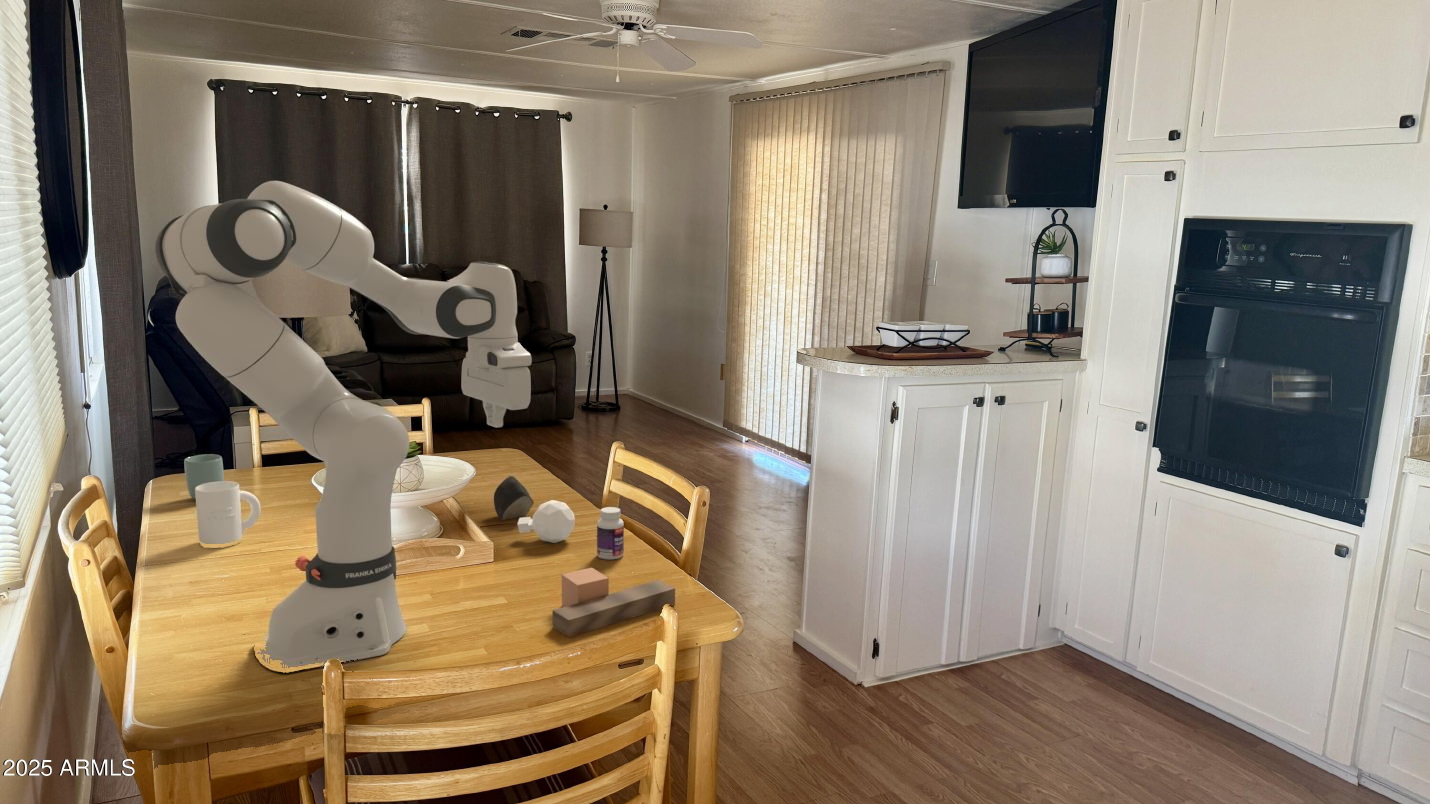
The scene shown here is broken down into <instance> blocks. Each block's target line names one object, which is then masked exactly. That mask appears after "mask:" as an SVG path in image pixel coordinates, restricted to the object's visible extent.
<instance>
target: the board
mask: <svg viewBox="0 0 1430 804" xmlns="http://www.w3.org/2000/svg"><path fill="white" fill-rule="evenodd" d="M665 604H670V605H671V606H673V605H672V604H674V605H676V588H675V587H673V586H672V585H669V584H667V583H666V582H664V581H662V580H659V579H657V580H653V581H649V582H646V583H643V584H638V585H637V586H633V587H629V588H625V589H621V590H619V591H615V592H612V593H609V594H608V595H604V596H601V597H597V598H594V599H590V600H587V601H583V602H580V603H576V604H573V605H569V606H566V607H563V606H562V607H560V608H559V607H558V608H555V609H552V628H553V629H555V630H556V631H558V632H560V633H561V634H563V635H565V636H566V638H567V637H568V638H572V637H574V636H578V635H580V634H581V635H582V634H585V633H588V632H591V631H594V630H597V629H601V628H604V627H606V626H610V625H614V624H616V623H619V622H623V621H626V620H629V619H632V618H635V617H639V616H642V615H646V614H649V613H651V612H655V611H658V610H661V609H663V608H662V607H663V606H664V605H665Z"/></svg>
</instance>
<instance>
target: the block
mask: <svg viewBox="0 0 1430 804" xmlns="http://www.w3.org/2000/svg"><path fill="white" fill-rule="evenodd" d="M609 585H610V582H609V576H608V577H607V576H606V575H605V574H604V573H601V572H600V571H598V570H596V569H595V568H593V567H589V568H584V569H579V570H575V571H574V570H573V571H570V572H566V573H562V574H561V606H562V607H566V606H569V605H573V604H576V603H580V602H583V601H587V600H590V599H594V598H597V597H601V596H604V595H608V594H610V593H609V591H610V590H609V589H610V588H609V587H610V586H609Z"/></svg>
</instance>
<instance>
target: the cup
mask: <svg viewBox="0 0 1430 804" xmlns="http://www.w3.org/2000/svg"><path fill="white" fill-rule="evenodd" d="M183 461H184V462H183V463H184V475H185V482H186V483H185V484H186V489H187V492H188V495H189V496H190V497H191V499H193V500H194V499H196V497H195V488H196V487H197V486H199V485H202V484H205V483H210V482H218V481H225V479H224V477H225V476H224V475H225V474H224V463H223V457H222V456H221V455H219V454H215V453H214V454H213V453H210V454H206V453H205V454H197V455H193V456H188V457H186V458H184V460H183Z"/></svg>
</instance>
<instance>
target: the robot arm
mask: <svg viewBox="0 0 1430 804" xmlns="http://www.w3.org/2000/svg"><path fill="white" fill-rule="evenodd" d="M154 247H155V248H154V249H155V251H154V252H155V256H156V259H157V263H158V265H159V267H160V269H161V270H162V272H163V273H164V275H165V276H166V278H167V279H168V281H169V283H170V286H171V288H172V290H173V291H174V293H175V294H177V295H178V296H179V297H182V298H181V300H180V302H179V304H178V306H177V309H176V311H175V322H176V325H177V328H178V329H179V331H180V332H181V333H182V334H183V335H182V336H184V337H185V339H186V340H187V342H188V343H189V344H190V345H192V347H193V348H194V349H195V350H196V352H198V354H199V355H200V356H201V357H202V358H203V359H204V360H205V361H206V362H207V363H208V364H209V365H210V366H211V367H212V368H214V369H215V371H217V372H218V373H219V374H220V375H221V376H223V377H224V378H226V380H227V381H229V382H230V383H231V384H232V385H233V386H235V387H236V388H237V389H238V390H239V391H241V392H242V393H243V394H244V395H246V396H247V397H248V398H249V399H250V400H251V401H252V402H254V404H256V405H257V406H258V407H259V408H261V409H262V410H263V411H264V412H265V413H266V414H267V415H268V416H269V417H270V418H271V419H272V420H273V421H274V422H275V423H276V424H277V425H278V426H279V427H280V429H283V431H284V432H286V434H288V435H289V437H290V438H292V439H293V440H294V441H295V442H296V443H297V444H298V445H299V446H300V447H301V448H303V449H304V450H305V451H306V452H307V453H308V454H309V455H310V456H313V457H314V458H316V459H318V460H321V461H322V462H323V463H324V466H325V478H324V483H323V489H322V494H321V498H320V500H319V501H318V502H317V503H316V505H315V511H314V512H315V513H314V514H315V527H316V528H315V529H316V544H317V553H316V554H315V555H314V557H313V558H312V559H311V560H310V559H309V558H308V557H307V556H304V555H300V556H298V557H297V558H296V559H295V562H294V565H295V567H296V568H297V569H298V570H299V571H301V572H305V579H306V580H304V581H303V582H302V583H301V584H300V585H299V586H297V588H295V589H294V590H293V591H292V592H291V593H290V594H289V595H288V596H286V597H285V598H284V599H283V600H282V601H281V602H280V603H278V604H277V605H276V606H275V607H274V608H273V609H272V612H271V614H270V617H269V618H270V619H269V625H268V633H267V634H268V635H267V634H266V635H267V638H265V637H266V636H264V635H263V636H264V638H265V639H264V641H265V640H266V639H268V640H266V642H267V643H266V645H265V646H267V647H265V649H266V651H265V650H264V649H263V650H261V649H260V651H261V653H260V652H258V653H257V654H261V655H262V654H263V657H262V659H263V660H264V661H265V662H266V659H265V655H264V654H268V655H270V657H269V664H270V659H272V660H273V661H274V660H281V661H283V662H282V663H280V664H281V665H282V668H285V665H287V666H288V668H290V667H298V666H305V665H308V664H315V663H322V662H324V664H325V663H326V662H327V660H330V659H339V660H340V661H342V660H343V661H344V663H347V662H346V661H349V662H351V661H350V660H354V661H359V660H363V659H368V658H373V657H378V656H383V655H385V654H387V653H388V652H389V651H390V649H391V647H392V645H393V644H395V643H396V642H397V641H399V640H400V639H401V638H402V637H403V636H404V635H405V633H406V632H407V626H406V622H405V620H404V617H403V615H402V611H401V608H400V603H399V598H398V593H397V588H396V587H397V586H396V581H395V580H396V579H397V556H396V552H395V551H396V550H395V547H394V545H393V542H392V516H391V515H392V513H391V511H392V510H391V509H392V508H391V507H392V506H391V504H392V495H393V490H394V489H393V488H394V483H395V479H396V475H397V472H398V471H397V470H398V468H399V467H401V465H402V464H403V463H404V461H405V460H406V458H407V456H408V453H409V449H410V436H409V432H408V430H407V428H406V426H405V424H403V423H402V421H400V419H399V418H398V417H397V416H396V415H395V414H394V413H392V412H391V411H390V410H388V409H387V408H385V407H383V406H381V405H378V404H376V403H372V402H369V401H366V400H363V399H362V398H360V397H357V396H356V395H354V394H353V393H351V392H350V391H349V390H348V389H347V388H345V387H344V385H343V384H341V382H340V381H339V380H338V379H337V378H336V377H335V375H334V374H333V373H332V372H331V371H330V369H329V368H328V366H327V365H326V362H325V361H324V359H323V358H322V357H321V356H320V354H318V353H317V352H316V351H315V350H314V349H313V348H312V347H310V346H309V344H307V343H306V342H305V341H304V339H302V338H301V337H300V336H299V335H298V334H297V333H295V332H294V331H293V329H291V328H290V326H288V325H287V324H286V323H285V322H284V321H282V319H281V318H279V317H278V315H276V314H275V313H274V312H272V311H271V309H269V308H268V307H266V306H265V304H264V303H263V302H262V300H261V299H260V298H259V296H258V294H257V292H256V289H255V286H254V284H253V279H256V278H261V277H264V276H266V275H268V274H270V273H271V272H273V271H275V270H276V269H277V268H279V266H280V265H281V264H282V263H283V262H284V261H286V262H287V263H289V264H291V265H293V266H295V267H296V268H299V269H301V270H303V271H304V272H306V273H309V274H310V275H313V276H315V277H318V278H320V279H323V280H325V281H327V282H331V283H334V284H337V285H340V286H341V285H342V286H345V287H347V288H349V289H351V290H353V291H355V292H356V293H358V294H359V295H362V296H363V297H365V298H367V299H369V300H370V301H372V302H374V303H376V304H377V305H379V306H380V307H381V308H383V309H384V310H385V311H386V312H387V313H388V314H389V316H391V318H392V319H393V320H394V322H395V323H396V324H397V325H398V326H399V328H400V329H401V330H403V331H405V332H406V333H408V334H412V335H419V336H420V335H423V336H424V335H425V336H426V335H429V336H434V337H440V338H449V339H461V338H465V337H467V349H468V350H467V351H466V353H465V357H464V358H463V360H462V365H461V383H460V384H461V386H460V387H461V391H462V394H463V395H465V396H468V397H470V398H473V399H477V400H480V401H482V407H483V410H484V413H485V416H486V424H487V425H488V426H491V427H494V428H496V429H498V428H503V426H504V416H505V414H506V412H507V409H508V410H509V411H516V410H517V411H518V410H524V409H528V407H529V405H530V403H531V393H532V391H531V390H532V388H531V387H532V385H531V384H532V383H531V381H532V380H531V379H532V378H531V371H530V369H529V366H531V365H532V361H533V360H532V355H531V353H530V352H529V351H527V349H526V348H524V347H523V346H522V345H521V343H520V342H518V341H519V340H518V335H519V334H518V331H517V326H516V319H517V315H518V300H517V299H518V298H517V286H516V281H515V276H514V273H513V270H512V269H511V268H509V267H508V266H506V265H504V264H501V263H495V262H487V261H473V262H470V264H469V265H468V267H467V268H466V269H465V270H464V271H462V272H461V273H460V274H458V275H457V276H454V277H453V278H451V279H450V278H449V280H448V279H447V280H446V281H441V280H440V281H439V280H431V279H425V278H419V277H405V276H403V275H401V274H399V273H398V272H396V271H395V270H392V269H391V268H389V267H388V266H387V265H385V264H383V263H381V262H380V261H379V260H377V259H375V258H374V254H375V241H374V237H373V235H372V232H371V230H370V229H369V228H368V227H367V226H366V225H365V224H364V223H362V222H361V221H360V220H358V219H357V218H356V217H355V216H353V215H352V214H351V213H349V212H348V211H346V210H344V209H342V208H341V207H339V206H337V205H336V204H335V203H332V202H330V201H328V200H326V199H325V198H323V197H321V196H319V195H317V194H315V193H312V192H310V191H308V190H306V189H303V188H301V187H298V186H295V185H294V184H291V183H287V182H284V181H280V180H269V181H266V182H263V183H261V184H260V185H259V186H257V187H256V188H255V189H253V190H252V192H250V194H249V195H248V197H247V198H236V199H235V198H234V199H229V200H228V201H227V200H226V201H225V202H223V203H217V204H212V205H211V204H210V205H204V206H200V207H198V208H195V209H193V210H191V211H189V212H187V213H185V214H183V215H179V216H177V217H174V218H173V219H171V220H170V221H169V222H168V223H167V224H165V226H164V227H163V228H162V229H161V230H160V232H159V233H158V236H157V238H156V241H155V246H154ZM180 291H181V292H180ZM184 293H185V294H184ZM260 637H261V636H260ZM261 638H262V637H261ZM259 641H260V640H259ZM262 641H263V640H262ZM318 659H319V660H318ZM357 659H358V660H357ZM267 663H268V658H267ZM283 664H284V667H283ZM324 664H323V665H324ZM323 665H322V667H321V668H323ZM287 666H286V668H287Z"/></svg>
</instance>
